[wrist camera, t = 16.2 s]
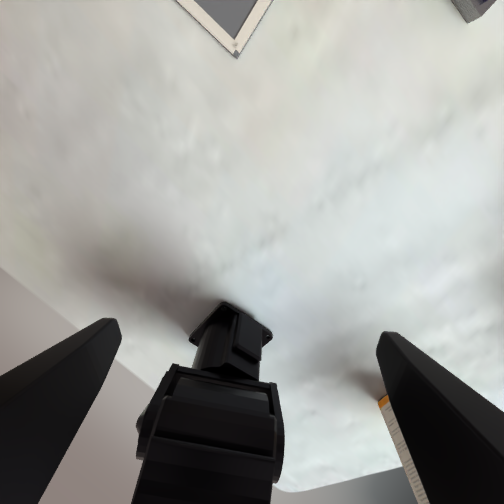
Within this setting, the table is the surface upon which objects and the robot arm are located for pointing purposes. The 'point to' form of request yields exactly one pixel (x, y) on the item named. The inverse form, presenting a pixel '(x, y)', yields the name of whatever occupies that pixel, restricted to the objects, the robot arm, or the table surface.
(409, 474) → the supplement box
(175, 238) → the table surface
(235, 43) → the stamp mat
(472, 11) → the ink pad
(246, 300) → the table surface
